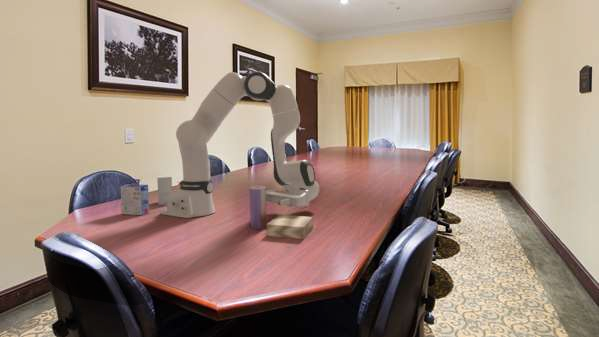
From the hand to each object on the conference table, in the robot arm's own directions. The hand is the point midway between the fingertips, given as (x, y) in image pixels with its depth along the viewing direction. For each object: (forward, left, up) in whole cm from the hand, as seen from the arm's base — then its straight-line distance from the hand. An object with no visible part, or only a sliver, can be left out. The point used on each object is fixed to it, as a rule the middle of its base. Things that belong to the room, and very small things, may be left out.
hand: (269, 201), depth 137 cm
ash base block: (+11, -8, -8) cm, 16 cm away
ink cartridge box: (-60, -1, -9) cm, 61 cm away
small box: (-60, +19, -9) cm, 64 cm away
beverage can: (-2, -6, -9) cm, 11 cm away
